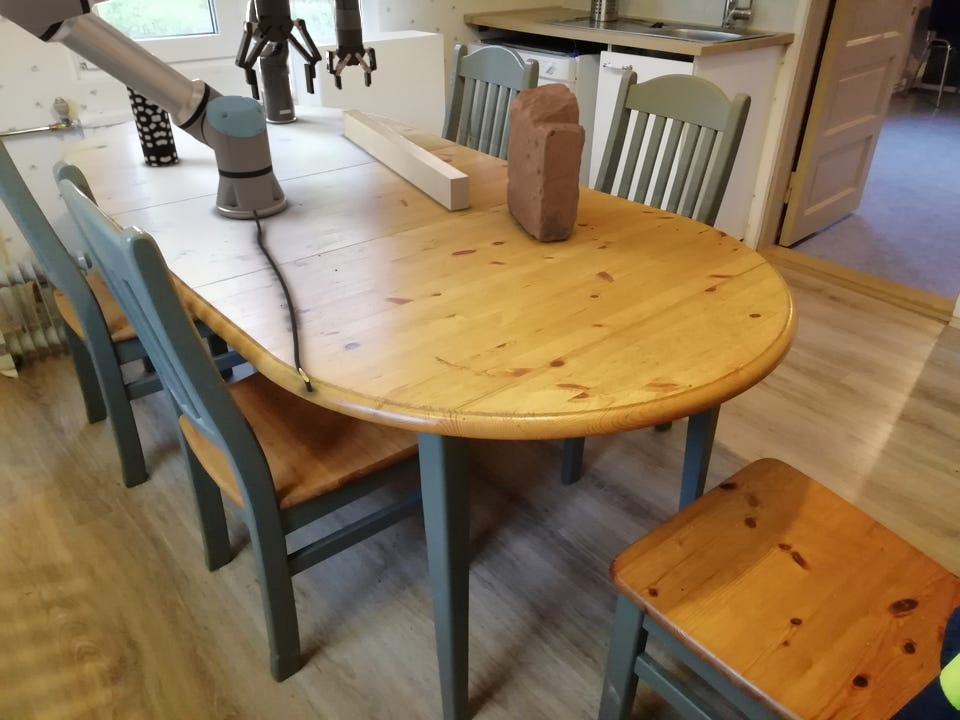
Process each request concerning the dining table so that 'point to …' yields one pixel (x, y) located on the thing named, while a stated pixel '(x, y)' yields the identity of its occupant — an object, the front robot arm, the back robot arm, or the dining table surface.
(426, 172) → the bar
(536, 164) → the stone
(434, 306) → the dining table surface
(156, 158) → the polka dot cylinder
